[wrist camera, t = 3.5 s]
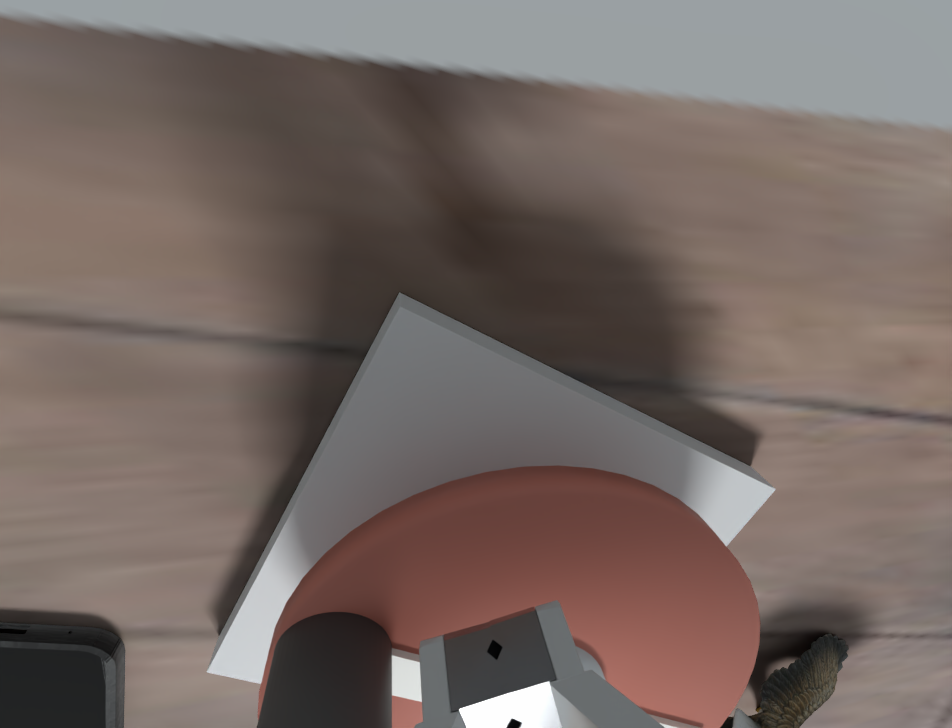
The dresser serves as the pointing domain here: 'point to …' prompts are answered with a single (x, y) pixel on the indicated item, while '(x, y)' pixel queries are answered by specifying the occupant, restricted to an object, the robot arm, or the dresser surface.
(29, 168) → the dresser surface
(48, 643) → the phone
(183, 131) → the dresser surface
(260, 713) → the handwheel
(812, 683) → the eagle figurine
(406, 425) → the square base plate
